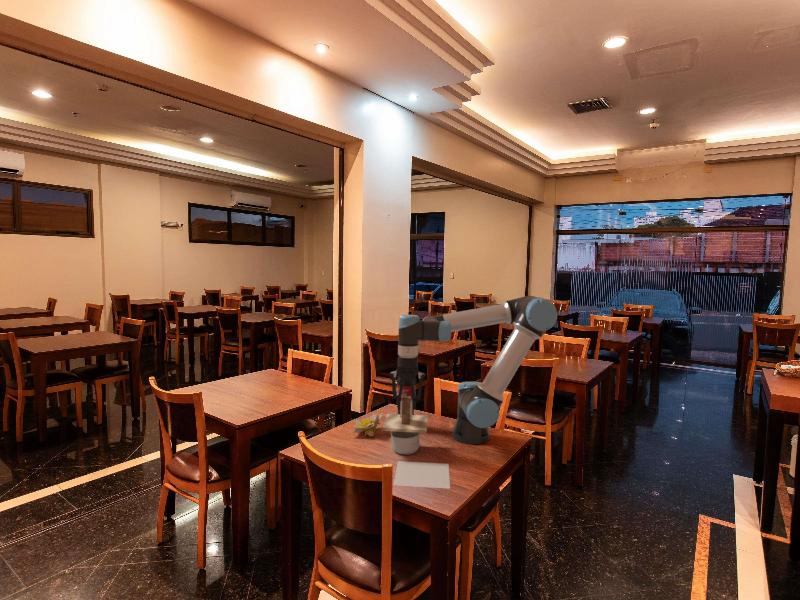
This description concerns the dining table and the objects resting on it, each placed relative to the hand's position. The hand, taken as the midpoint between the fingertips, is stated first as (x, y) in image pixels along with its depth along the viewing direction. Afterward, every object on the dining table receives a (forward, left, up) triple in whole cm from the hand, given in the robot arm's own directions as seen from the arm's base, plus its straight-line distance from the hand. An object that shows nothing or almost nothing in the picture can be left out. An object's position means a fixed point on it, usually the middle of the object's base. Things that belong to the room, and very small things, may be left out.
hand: (406, 417), depth 174 cm
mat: (-7, +20, -13) cm, 25 cm away
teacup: (0, 0, -13) cm, 13 cm away
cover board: (0, 0, -3) cm, 3 cm away
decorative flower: (+17, -17, -13) cm, 28 cm away
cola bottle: (+2, -25, -13) cm, 28 cm away
